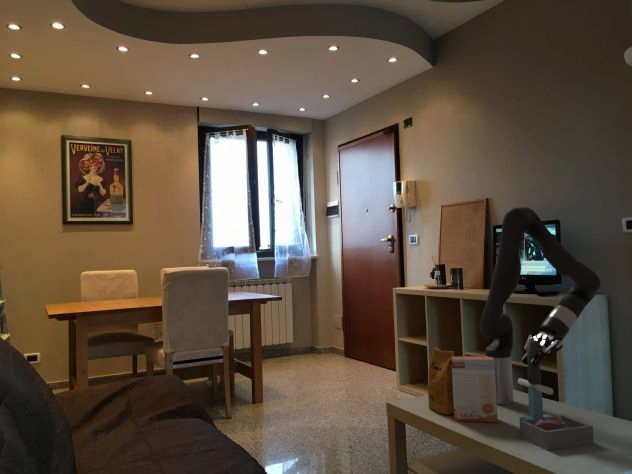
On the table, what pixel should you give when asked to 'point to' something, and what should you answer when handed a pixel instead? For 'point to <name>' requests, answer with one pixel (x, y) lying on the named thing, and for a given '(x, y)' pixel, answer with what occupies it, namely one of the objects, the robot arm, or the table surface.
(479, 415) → the cracker box
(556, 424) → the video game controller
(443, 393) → the coffee package
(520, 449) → the table surface
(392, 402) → the table surface
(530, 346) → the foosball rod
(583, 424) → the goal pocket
